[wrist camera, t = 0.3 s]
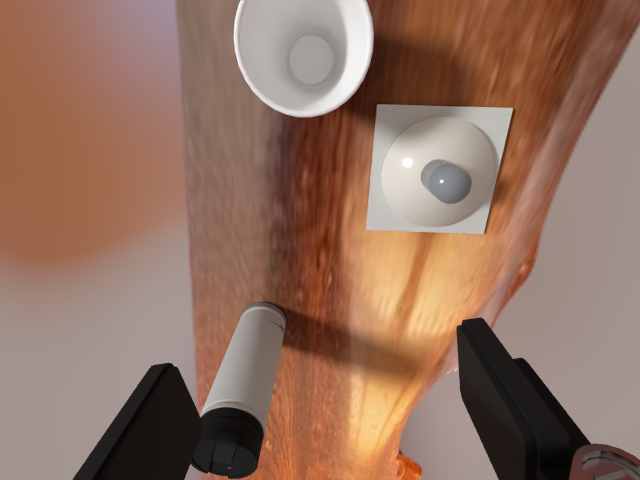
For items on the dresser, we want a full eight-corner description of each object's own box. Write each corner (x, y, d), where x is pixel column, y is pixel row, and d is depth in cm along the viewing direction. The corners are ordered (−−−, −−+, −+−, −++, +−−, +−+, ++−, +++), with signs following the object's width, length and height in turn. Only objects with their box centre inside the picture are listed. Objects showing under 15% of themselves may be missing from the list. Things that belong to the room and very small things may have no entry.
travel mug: (292, 306, 45) (265, 449, 26) (280, 343, 47) (248, 497, 29) (247, 294, 44) (188, 431, 26) (237, 332, 47) (177, 482, 28)
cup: (371, 95, 34) (388, 92, 24) (282, 125, 36) (263, 134, 26) (345, -15, 31) (353, -72, 21) (247, 23, 32) (209, -14, 22)
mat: (376, 104, 35) (377, 104, 34) (510, 108, 35) (513, 108, 34) (366, 228, 40) (366, 229, 40) (481, 232, 40) (483, 233, 39)
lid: (386, 114, 35) (396, 117, 29) (501, 118, 34) (533, 121, 29) (375, 222, 39) (383, 242, 34) (476, 225, 39) (501, 246, 34)
